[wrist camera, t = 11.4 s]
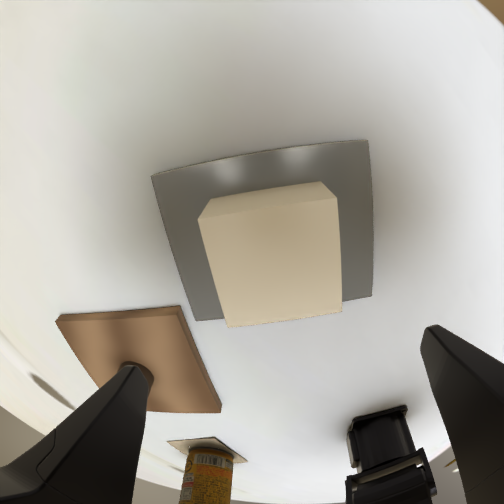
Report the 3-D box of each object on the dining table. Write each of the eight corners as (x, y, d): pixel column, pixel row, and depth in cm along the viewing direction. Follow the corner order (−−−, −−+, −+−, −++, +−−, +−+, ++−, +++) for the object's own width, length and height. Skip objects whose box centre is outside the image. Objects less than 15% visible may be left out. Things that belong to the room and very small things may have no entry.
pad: (364, 139, 14) (367, 140, 14) (369, 291, 18) (371, 296, 18) (154, 174, 15) (150, 176, 15) (197, 316, 20) (195, 321, 19)
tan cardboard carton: (328, 277, 17) (342, 311, 14) (233, 291, 18) (227, 327, 15) (320, 181, 15) (336, 197, 12) (210, 198, 15) (197, 219, 12)
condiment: (203, 464, 32) (193, 533, 21) (166, 440, 29) (149, 520, 18) (248, 460, 31) (244, 536, 20) (214, 435, 27) (203, 527, 17)
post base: (179, 306, 19) (151, 383, 13) (221, 404, 24) (214, 468, 18) (60, 314, 20) (19, 368, 14) (117, 400, 25) (97, 451, 19)
